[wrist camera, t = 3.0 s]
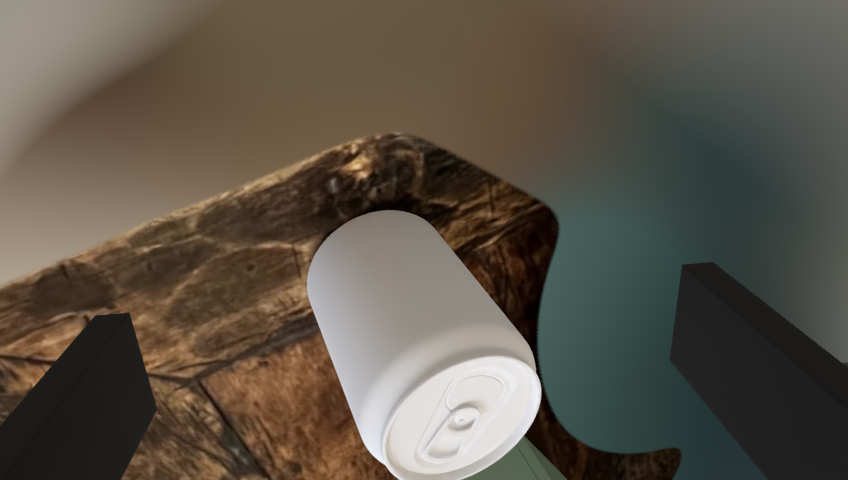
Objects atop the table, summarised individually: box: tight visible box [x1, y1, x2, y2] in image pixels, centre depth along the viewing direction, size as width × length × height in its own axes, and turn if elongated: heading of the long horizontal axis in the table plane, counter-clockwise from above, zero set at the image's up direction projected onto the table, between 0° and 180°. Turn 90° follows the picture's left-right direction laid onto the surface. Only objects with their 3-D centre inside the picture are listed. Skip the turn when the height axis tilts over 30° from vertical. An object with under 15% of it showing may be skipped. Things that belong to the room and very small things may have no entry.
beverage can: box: [307, 210, 541, 480], centre depth 28 cm, size 8×8×12 cm
